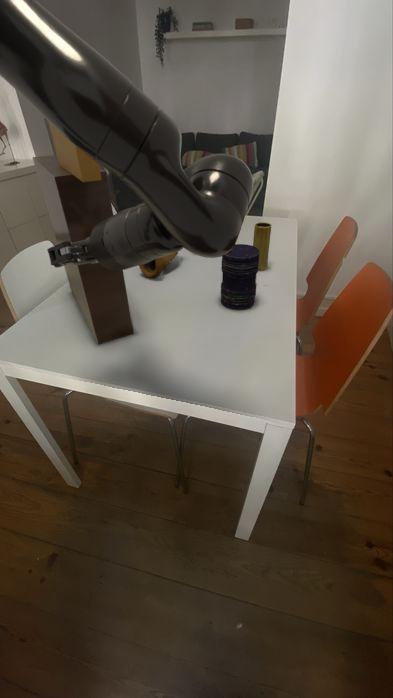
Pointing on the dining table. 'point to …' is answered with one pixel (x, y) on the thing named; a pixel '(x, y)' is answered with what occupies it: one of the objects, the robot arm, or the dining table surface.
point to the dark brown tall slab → (76, 225)
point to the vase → (262, 242)
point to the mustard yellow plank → (74, 158)
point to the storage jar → (239, 277)
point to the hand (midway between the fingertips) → (78, 259)
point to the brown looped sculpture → (156, 266)
